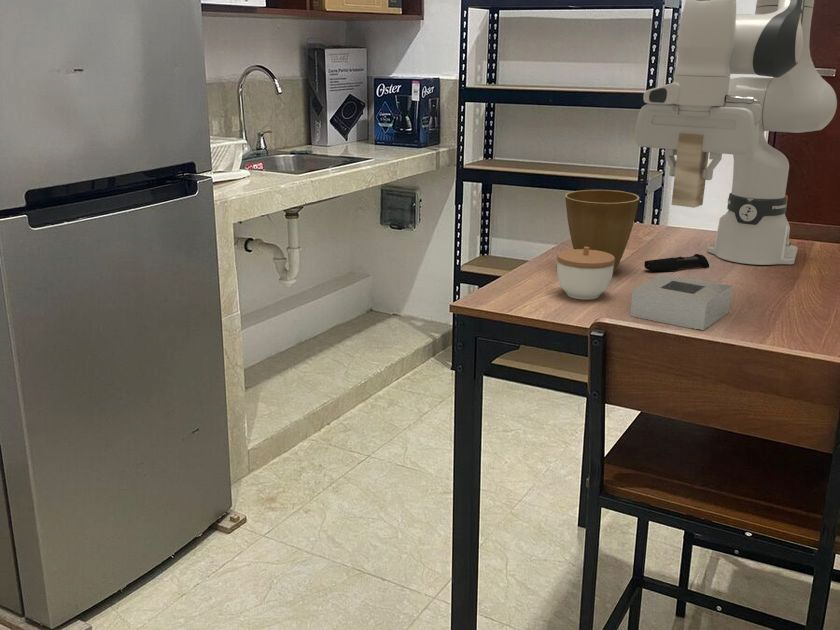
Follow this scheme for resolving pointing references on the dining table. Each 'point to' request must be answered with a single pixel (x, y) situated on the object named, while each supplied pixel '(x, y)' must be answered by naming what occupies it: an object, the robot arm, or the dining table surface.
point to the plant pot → (601, 220)
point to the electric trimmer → (677, 263)
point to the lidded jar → (584, 272)
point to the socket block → (681, 301)
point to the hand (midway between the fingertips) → (690, 177)
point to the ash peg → (689, 171)
